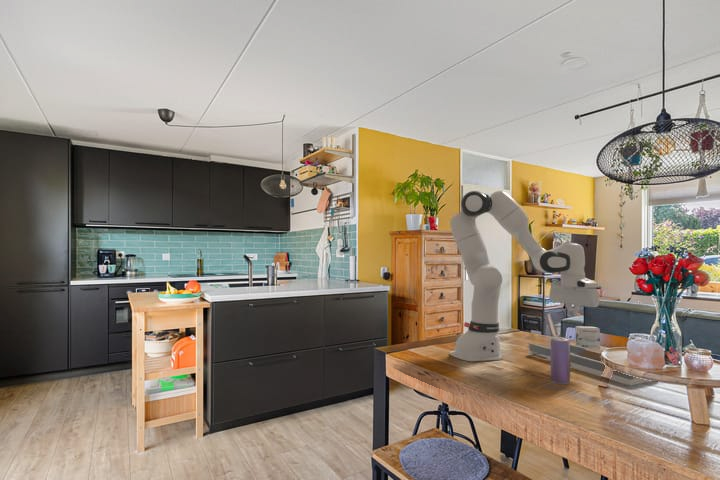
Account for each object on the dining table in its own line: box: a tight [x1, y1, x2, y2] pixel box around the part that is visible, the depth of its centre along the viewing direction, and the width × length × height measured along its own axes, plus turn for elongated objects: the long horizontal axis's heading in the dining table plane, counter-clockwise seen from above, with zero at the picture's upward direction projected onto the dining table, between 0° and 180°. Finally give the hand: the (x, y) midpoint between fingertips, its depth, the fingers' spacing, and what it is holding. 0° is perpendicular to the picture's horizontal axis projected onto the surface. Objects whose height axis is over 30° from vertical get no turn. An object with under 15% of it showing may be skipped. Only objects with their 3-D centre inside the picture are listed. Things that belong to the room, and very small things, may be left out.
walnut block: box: [583, 348, 605, 362], centre depth 149 cm, size 6×6×5 cm
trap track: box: [528, 342, 651, 387], centre depth 153 cm, size 16×42×6 cm, turn 25°
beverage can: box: [550, 336, 571, 385], centre depth 133 cm, size 6×6×15 cm
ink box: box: [575, 325, 601, 350], centre depth 172 cm, size 9×5×12 cm, turn 84°
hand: (573, 315), depth 159 cm, fingers closed
